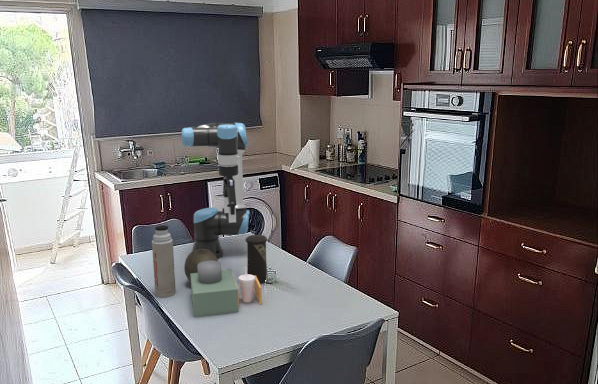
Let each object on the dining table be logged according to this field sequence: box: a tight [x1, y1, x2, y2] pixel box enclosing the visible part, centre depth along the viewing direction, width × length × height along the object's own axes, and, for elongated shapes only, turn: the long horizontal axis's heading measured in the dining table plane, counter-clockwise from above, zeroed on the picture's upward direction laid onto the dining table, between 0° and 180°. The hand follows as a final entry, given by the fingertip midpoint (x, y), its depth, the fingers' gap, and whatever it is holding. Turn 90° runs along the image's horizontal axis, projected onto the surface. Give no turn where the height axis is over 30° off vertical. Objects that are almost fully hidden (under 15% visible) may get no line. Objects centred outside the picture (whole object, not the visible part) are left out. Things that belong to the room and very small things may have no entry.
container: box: [245, 234, 268, 285], centre depth 208 cm, size 9×9×20 cm
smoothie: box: [238, 265, 255, 303], centre depth 190 cm, size 6×6×14 cm
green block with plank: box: [190, 260, 263, 318], centre depth 189 cm, size 20×26×15 cm
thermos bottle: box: [151, 224, 177, 298], centre depth 195 cm, size 8×8×28 cm
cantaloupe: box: [183, 249, 219, 283], centre depth 206 cm, size 14×14×15 cm
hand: (230, 217), depth 196 cm, fingers open, 13 cm apart
